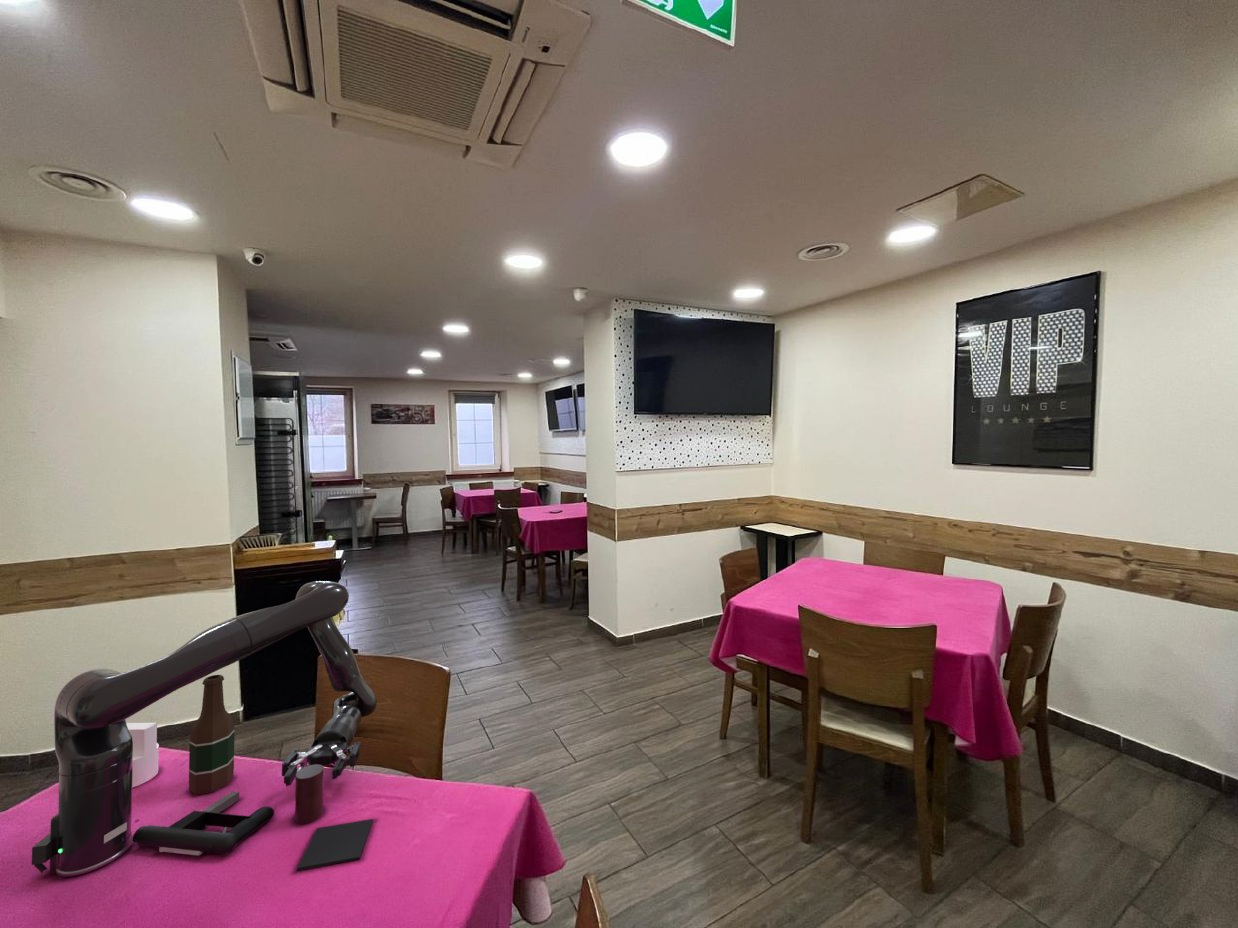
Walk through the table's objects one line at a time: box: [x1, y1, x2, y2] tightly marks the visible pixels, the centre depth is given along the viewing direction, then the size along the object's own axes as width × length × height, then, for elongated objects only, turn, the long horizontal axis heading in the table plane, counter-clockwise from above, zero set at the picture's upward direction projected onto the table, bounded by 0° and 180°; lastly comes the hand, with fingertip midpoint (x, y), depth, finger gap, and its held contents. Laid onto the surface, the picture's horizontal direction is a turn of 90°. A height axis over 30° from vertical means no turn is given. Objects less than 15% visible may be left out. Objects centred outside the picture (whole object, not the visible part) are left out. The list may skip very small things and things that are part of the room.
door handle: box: [132, 790, 275, 856], centre depth 96 cm, size 3×20×16 cm
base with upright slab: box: [126, 722, 160, 789], centre depth 111 cm, size 9×9×12 cm
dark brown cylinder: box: [294, 764, 324, 825], centre depth 99 cm, size 5×5×9 cm
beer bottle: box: [188, 674, 235, 796], centre depth 109 cm, size 8×8×24 cm
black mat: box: [296, 818, 374, 871], centre depth 91 cm, size 10×10×1 cm
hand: (311, 778), depth 100 cm, fingers open, 8 cm apart
